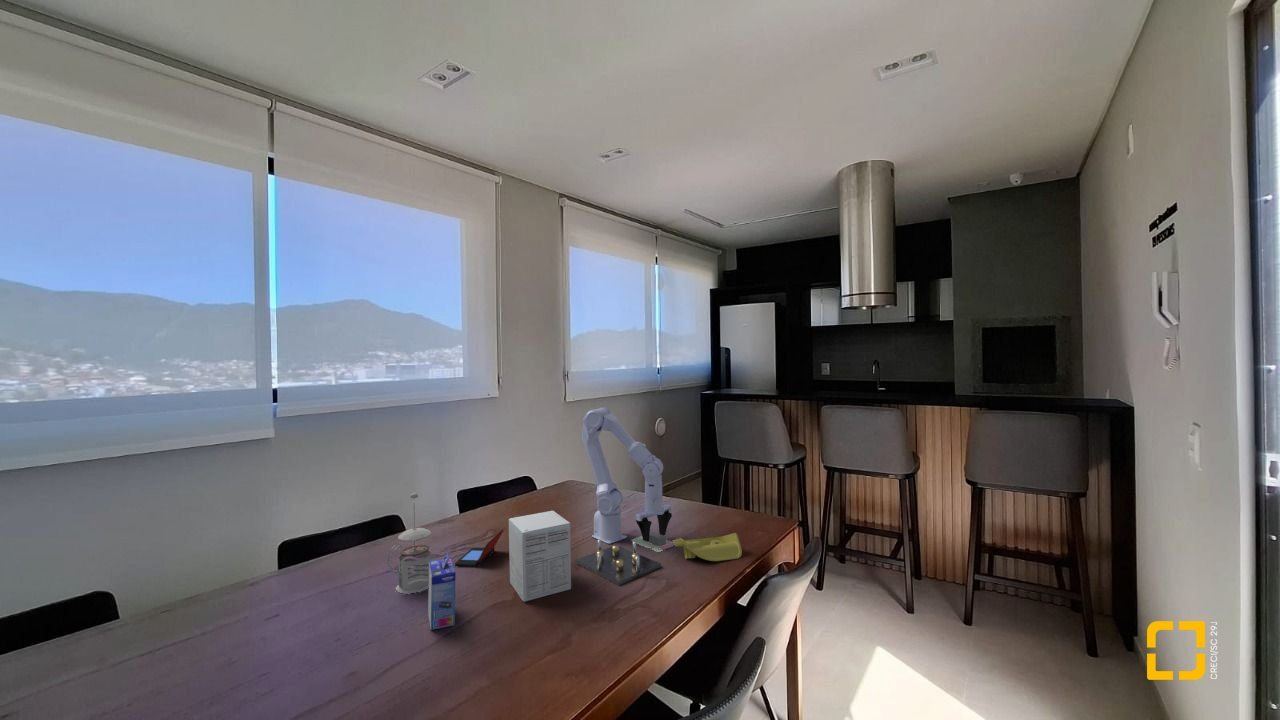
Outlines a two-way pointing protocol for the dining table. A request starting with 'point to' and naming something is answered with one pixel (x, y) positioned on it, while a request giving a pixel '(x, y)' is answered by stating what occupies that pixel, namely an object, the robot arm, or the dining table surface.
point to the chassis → (618, 563)
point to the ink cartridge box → (441, 593)
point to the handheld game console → (478, 554)
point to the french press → (413, 560)
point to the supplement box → (539, 555)
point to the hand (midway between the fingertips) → (654, 537)
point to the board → (643, 543)
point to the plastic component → (712, 547)
